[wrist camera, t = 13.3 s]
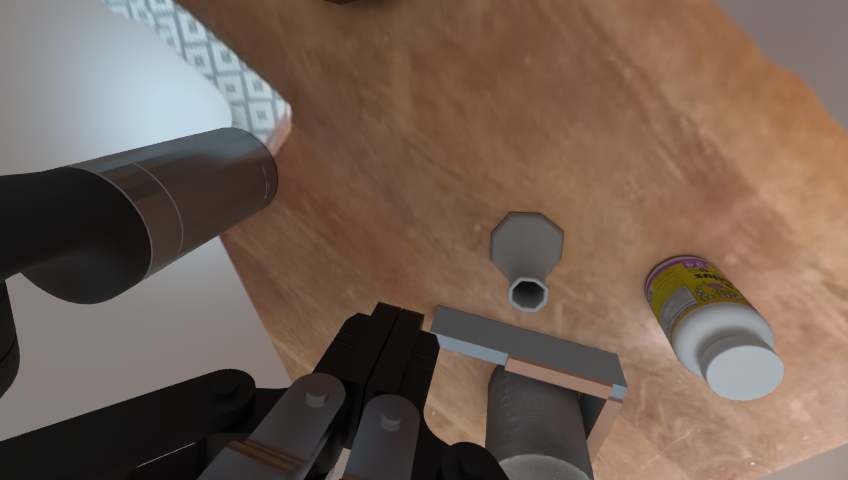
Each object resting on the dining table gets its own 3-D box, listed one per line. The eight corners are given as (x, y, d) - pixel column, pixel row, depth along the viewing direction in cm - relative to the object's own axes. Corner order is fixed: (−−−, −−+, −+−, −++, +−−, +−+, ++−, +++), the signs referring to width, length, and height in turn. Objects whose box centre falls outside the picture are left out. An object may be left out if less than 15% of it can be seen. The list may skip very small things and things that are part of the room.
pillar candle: (531, 432, 51) (539, 566, 38) (471, 383, 50) (456, 503, 37) (595, 390, 48) (629, 523, 34) (532, 336, 46) (540, 450, 33)
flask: (545, 287, 44) (552, 347, 35) (478, 262, 44) (468, 314, 35) (577, 226, 41) (594, 274, 32) (505, 199, 41) (501, 239, 32)
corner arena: (407, 429, 55) (396, 466, 50) (438, 305, 47) (428, 335, 42) (557, 476, 53) (561, 519, 48) (616, 354, 45) (629, 392, 40)
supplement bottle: (737, 279, 40) (828, 371, 28) (682, 326, 42) (744, 427, 31) (678, 240, 39) (746, 316, 28) (627, 290, 42) (669, 379, 31)
